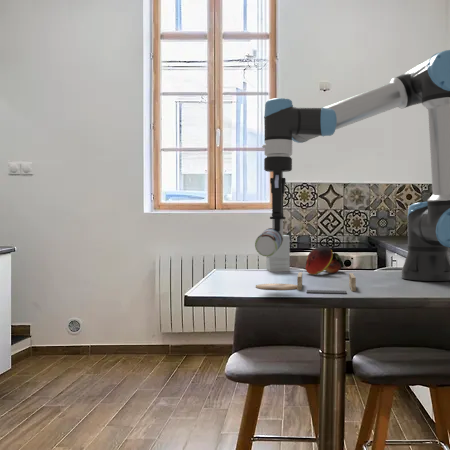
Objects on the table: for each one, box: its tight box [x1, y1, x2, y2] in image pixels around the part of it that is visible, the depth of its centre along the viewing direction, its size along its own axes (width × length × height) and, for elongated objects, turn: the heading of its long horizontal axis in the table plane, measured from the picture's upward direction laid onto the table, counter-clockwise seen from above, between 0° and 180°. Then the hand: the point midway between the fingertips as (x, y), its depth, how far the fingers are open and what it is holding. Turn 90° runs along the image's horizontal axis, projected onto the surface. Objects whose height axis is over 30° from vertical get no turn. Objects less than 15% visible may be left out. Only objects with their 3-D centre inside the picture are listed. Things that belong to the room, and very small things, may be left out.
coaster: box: [255, 283, 297, 291], centre depth 160 cm, size 12×12×1 cm
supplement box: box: [265, 234, 291, 273], centre depth 206 cm, size 7×7×13 cm
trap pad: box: [306, 289, 348, 295], centre depth 149 cm, size 10×4×1 cm, turn 81°
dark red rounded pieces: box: [304, 246, 345, 275], centre depth 196 cm, size 12×12×15 cm
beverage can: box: [254, 227, 283, 257], centre depth 155 cm, size 6×7×12 cm
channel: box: [296, 271, 357, 292], centre depth 159 cm, size 15×12×4 cm
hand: (277, 243), depth 160 cm, fingers closed on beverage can, 2 cm apart
